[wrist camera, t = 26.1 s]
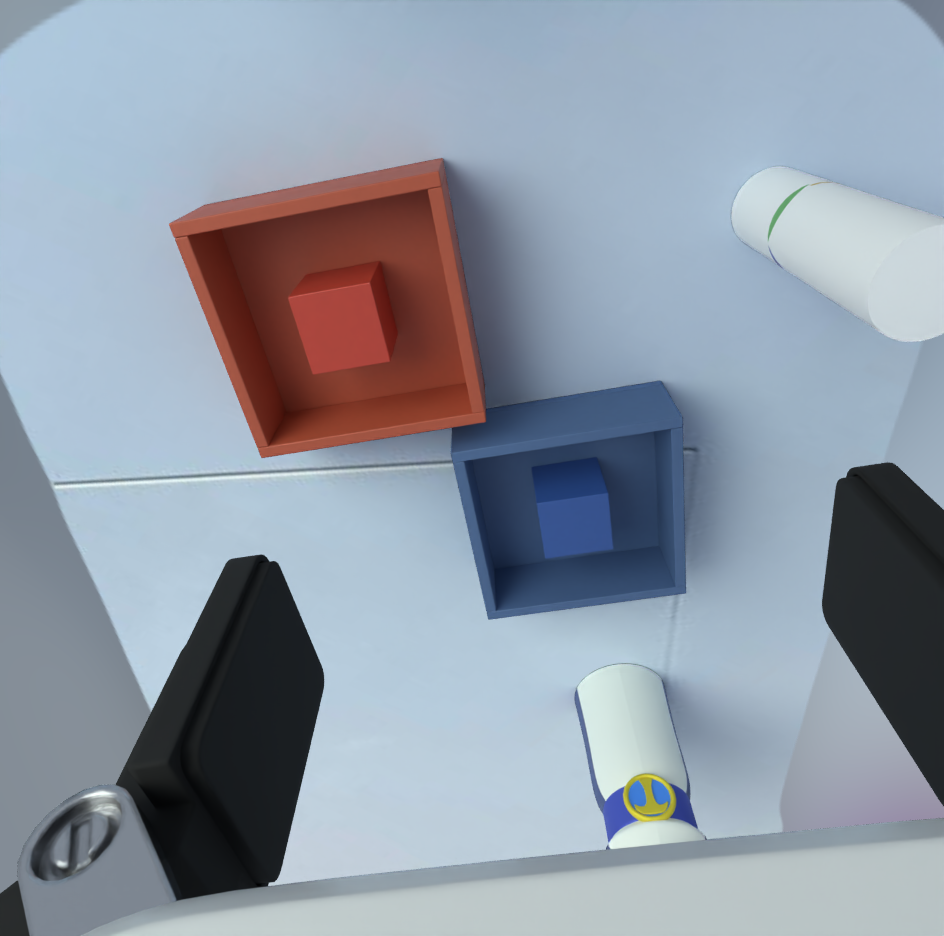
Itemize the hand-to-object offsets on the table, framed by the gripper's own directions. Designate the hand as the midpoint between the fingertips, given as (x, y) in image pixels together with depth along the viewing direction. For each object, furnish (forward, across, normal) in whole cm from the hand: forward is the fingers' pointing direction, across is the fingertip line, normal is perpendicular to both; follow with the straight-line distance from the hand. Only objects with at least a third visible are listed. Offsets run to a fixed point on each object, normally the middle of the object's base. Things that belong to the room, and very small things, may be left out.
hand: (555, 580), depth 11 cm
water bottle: (+31, -4, +40) cm, 50 cm away
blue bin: (+30, -2, +18) cm, 35 cm away
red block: (+30, +9, +3) cm, 31 cm away
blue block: (+30, -2, +18) cm, 35 cm away
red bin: (+30, +9, +3) cm, 32 cm away
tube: (+31, -15, +2) cm, 34 cm away
